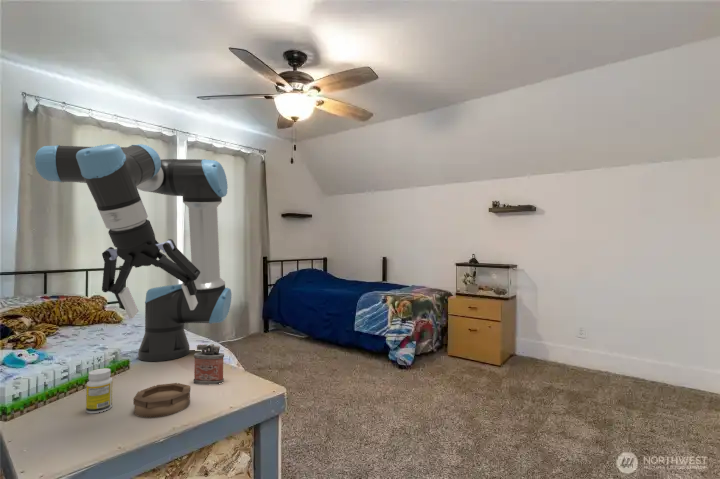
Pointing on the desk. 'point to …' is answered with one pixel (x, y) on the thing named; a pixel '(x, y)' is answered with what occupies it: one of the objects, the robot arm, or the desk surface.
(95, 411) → the supplement bottle
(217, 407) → the desk surface
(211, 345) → the lighter
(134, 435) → the desk surface
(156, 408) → the coaster stand
